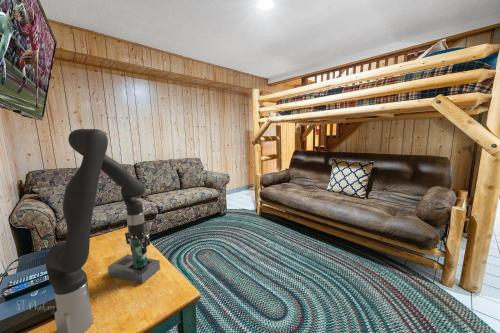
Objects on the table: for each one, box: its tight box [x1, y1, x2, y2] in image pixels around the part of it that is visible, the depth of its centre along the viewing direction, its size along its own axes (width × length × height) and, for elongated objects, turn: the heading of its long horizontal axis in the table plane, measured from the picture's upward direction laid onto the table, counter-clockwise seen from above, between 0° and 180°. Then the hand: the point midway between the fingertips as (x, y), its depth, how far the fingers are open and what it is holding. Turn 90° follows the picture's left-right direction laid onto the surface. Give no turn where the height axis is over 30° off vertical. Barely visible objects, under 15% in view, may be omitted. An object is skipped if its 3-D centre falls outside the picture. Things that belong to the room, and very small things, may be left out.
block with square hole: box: [107, 253, 161, 285], centre depth 110 cm, size 12×22×5 cm, turn 72°
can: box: [130, 238, 148, 269], centre depth 108 cm, size 6×6×15 cm
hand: (139, 252), depth 108 cm, fingers closed on can, 6 cm apart
